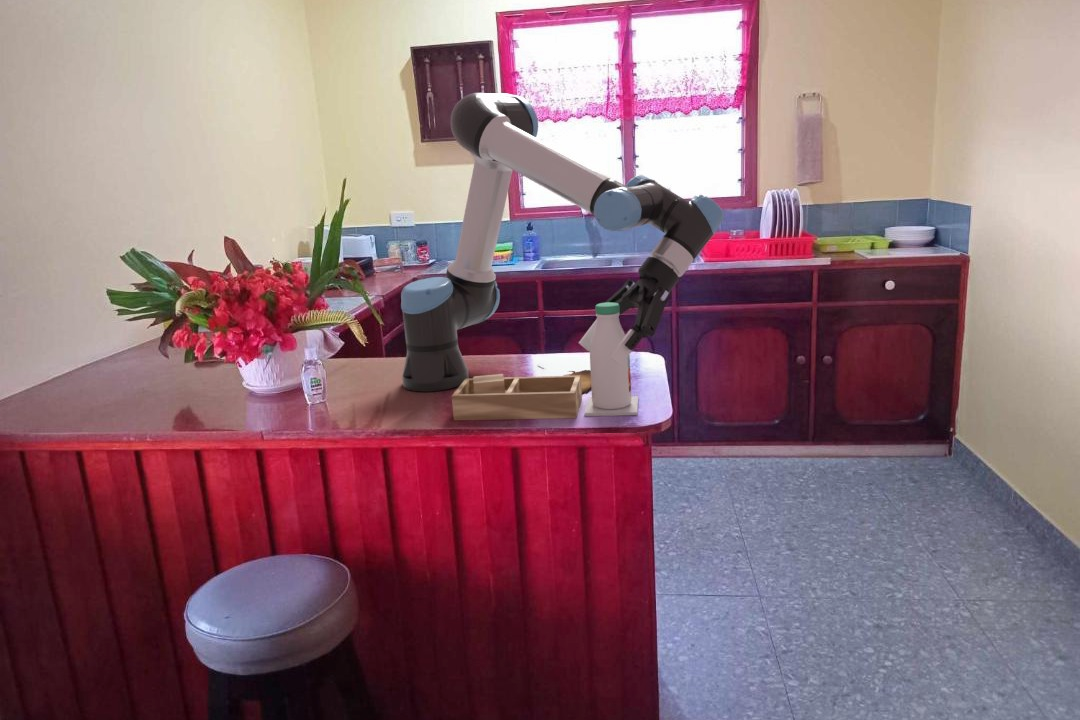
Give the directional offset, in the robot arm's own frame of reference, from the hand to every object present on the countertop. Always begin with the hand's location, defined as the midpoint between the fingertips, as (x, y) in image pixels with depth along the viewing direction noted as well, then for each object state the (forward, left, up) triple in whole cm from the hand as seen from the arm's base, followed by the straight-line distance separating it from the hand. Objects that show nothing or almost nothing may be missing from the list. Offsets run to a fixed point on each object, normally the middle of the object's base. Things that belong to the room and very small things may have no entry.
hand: (598, 354), depth 151 cm
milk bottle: (-1, +2, -11) cm, 11 cm away
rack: (-1, -16, -11) cm, 20 cm away
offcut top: (-1, -22, -8) cm, 24 cm away
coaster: (-1, +2, -11) cm, 11 cm away
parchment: (-16, -7, -12) cm, 21 cm away
